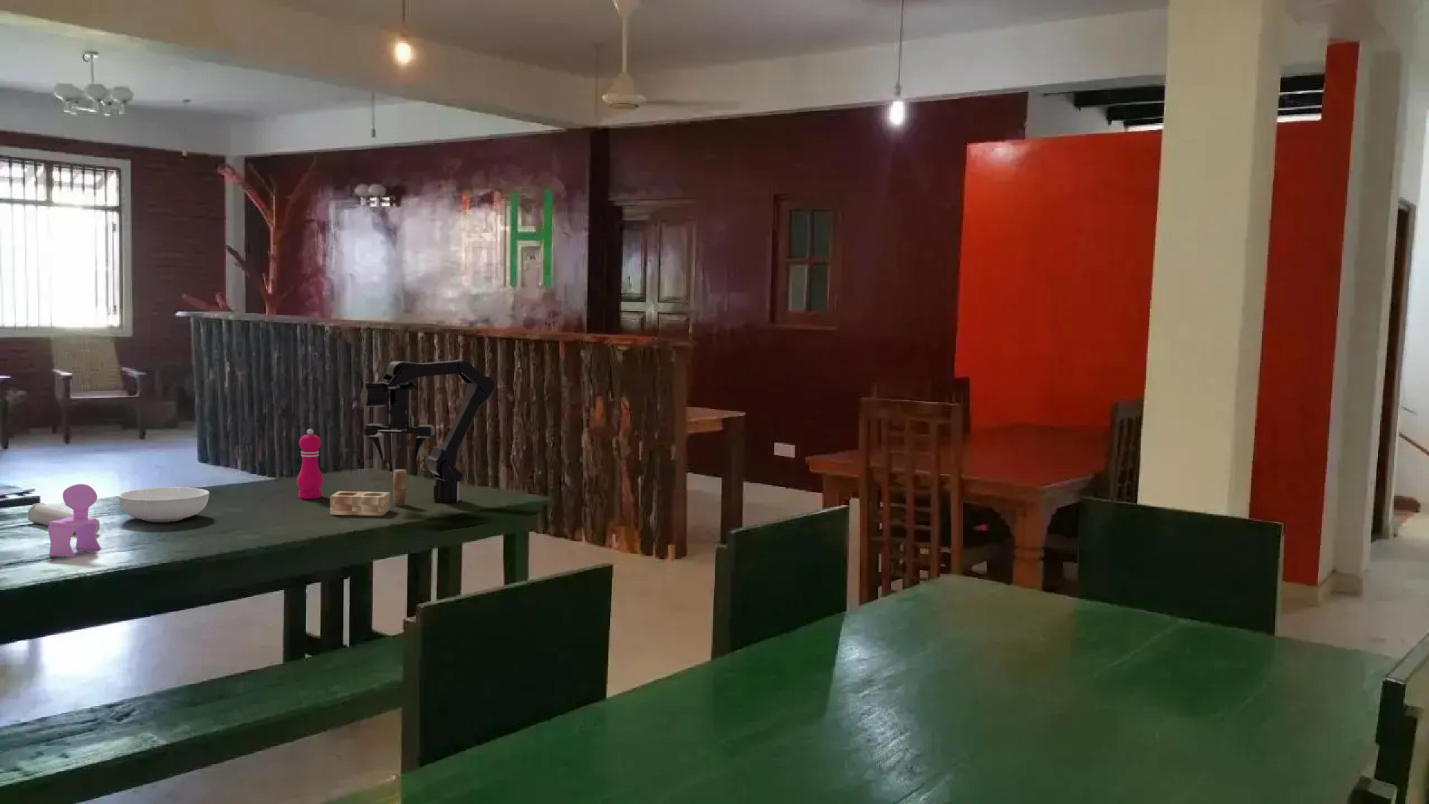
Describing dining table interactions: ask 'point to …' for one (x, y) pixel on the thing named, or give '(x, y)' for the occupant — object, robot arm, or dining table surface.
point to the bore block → (359, 503)
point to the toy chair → (74, 522)
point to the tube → (50, 514)
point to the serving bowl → (163, 503)
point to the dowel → (399, 487)
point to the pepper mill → (310, 467)
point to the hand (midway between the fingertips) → (399, 460)
